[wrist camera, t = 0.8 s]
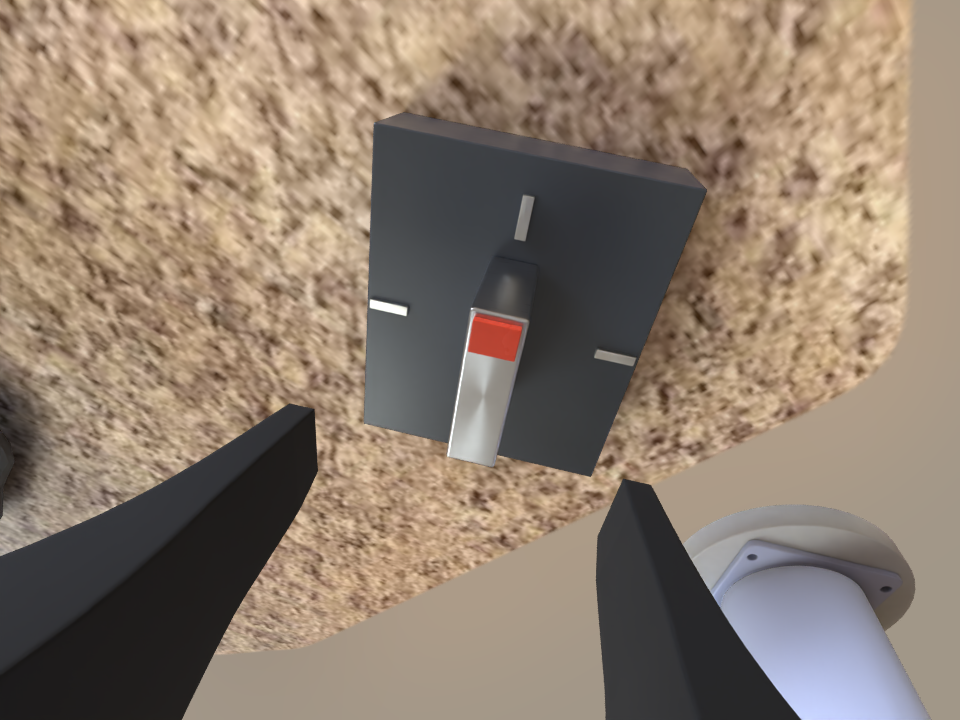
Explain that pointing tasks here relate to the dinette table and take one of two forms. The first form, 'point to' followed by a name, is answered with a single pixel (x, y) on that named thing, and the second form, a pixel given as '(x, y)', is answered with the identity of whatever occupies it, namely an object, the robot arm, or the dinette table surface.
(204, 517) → the robot arm
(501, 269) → the tap handle
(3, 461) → the casserole
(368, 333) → the block
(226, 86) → the dinette table surface
